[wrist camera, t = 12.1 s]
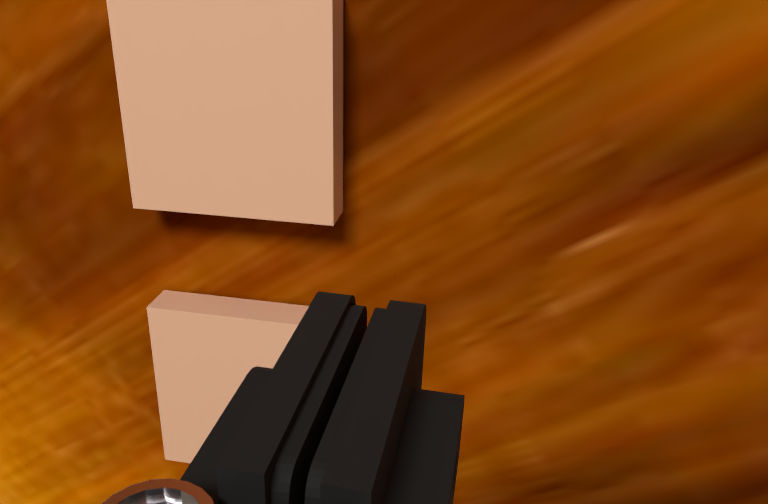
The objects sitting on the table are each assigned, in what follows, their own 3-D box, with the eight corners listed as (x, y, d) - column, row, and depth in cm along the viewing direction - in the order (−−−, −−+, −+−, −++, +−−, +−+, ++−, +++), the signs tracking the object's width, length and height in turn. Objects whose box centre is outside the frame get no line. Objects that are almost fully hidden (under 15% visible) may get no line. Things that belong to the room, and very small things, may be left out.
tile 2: (345, 306, 34) (167, 286, 35) (334, 329, 32) (146, 307, 33) (343, 456, 37) (182, 433, 38) (334, 484, 35) (165, 459, 37)
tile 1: (345, -6, 28) (132, -14, 29) (332, -2, 26) (105, -11, 27) (344, 208, 31) (155, 192, 33) (333, 226, 29) (133, 207, 31)
